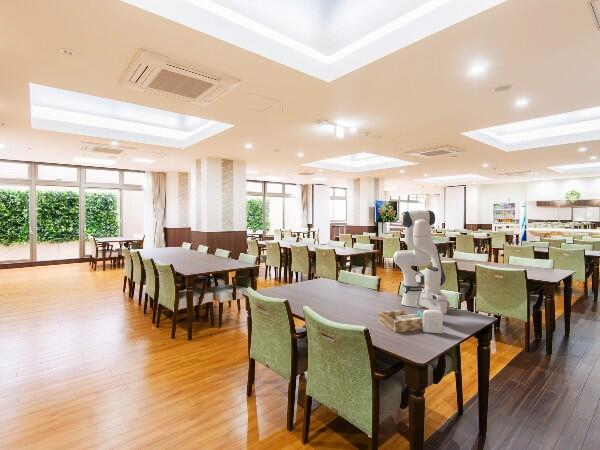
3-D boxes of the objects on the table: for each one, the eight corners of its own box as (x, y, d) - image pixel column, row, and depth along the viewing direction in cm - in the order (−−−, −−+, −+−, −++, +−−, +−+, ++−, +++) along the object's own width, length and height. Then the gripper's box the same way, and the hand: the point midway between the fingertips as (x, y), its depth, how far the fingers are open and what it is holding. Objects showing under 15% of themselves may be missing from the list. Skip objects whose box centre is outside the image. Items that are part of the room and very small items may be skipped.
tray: (418, 317, 196) (418, 310, 195) (434, 324, 182) (434, 317, 182) (394, 319, 191) (394, 312, 191) (408, 327, 177) (408, 319, 177)
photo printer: (441, 331, 175) (441, 309, 174) (443, 334, 170) (443, 311, 170) (421, 330, 177) (422, 308, 177) (423, 332, 173) (423, 310, 172)
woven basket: (404, 319, 195) (404, 309, 195) (423, 329, 178) (423, 318, 178) (378, 322, 190) (378, 312, 190) (395, 332, 173) (395, 321, 173)
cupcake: (444, 311, 214) (444, 296, 213) (452, 314, 205) (452, 299, 205) (432, 311, 212) (432, 296, 212) (440, 315, 204) (440, 300, 203)
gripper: (417, 290, 199) (416, 312, 199) (439, 298, 179) (439, 322, 179) (425, 290, 200) (425, 311, 201) (449, 297, 181) (448, 321, 181)
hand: (432, 316), depth 190 cm, fingers closed
